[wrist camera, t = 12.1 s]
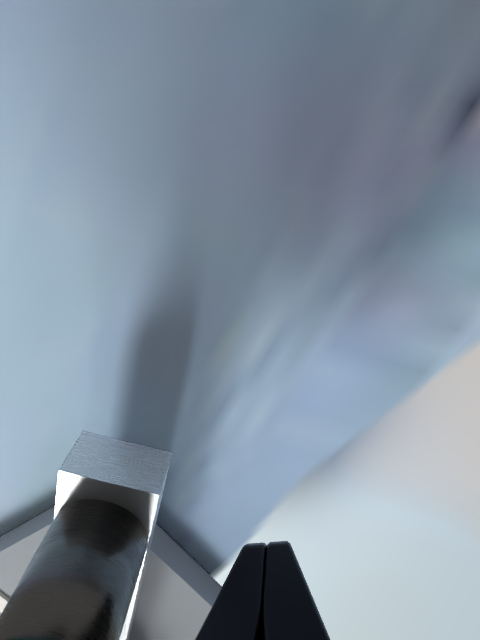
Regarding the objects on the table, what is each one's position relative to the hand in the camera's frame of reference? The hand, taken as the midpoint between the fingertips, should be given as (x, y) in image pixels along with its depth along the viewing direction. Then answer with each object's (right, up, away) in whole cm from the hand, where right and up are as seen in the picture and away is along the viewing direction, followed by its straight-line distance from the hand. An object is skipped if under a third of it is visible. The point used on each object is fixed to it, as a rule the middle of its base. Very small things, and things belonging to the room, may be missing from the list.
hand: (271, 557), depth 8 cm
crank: (-4, -4, +5) cm, 7 cm away
